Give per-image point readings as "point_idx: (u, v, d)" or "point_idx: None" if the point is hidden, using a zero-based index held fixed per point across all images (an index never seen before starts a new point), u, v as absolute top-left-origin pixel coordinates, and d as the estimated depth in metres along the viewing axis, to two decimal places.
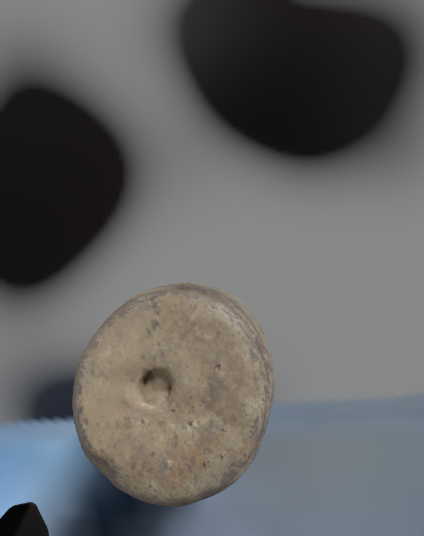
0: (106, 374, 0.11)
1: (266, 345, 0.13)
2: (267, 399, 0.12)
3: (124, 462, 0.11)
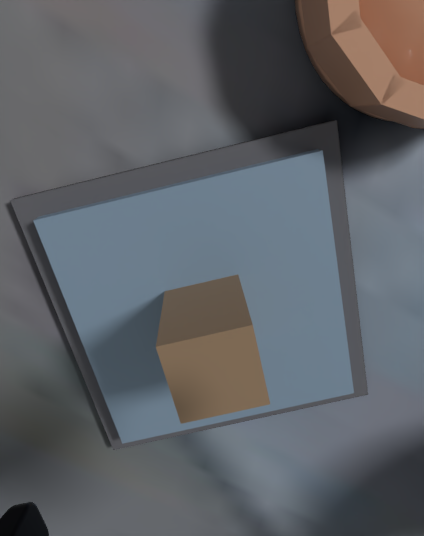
0: None
1: None
2: None
3: None
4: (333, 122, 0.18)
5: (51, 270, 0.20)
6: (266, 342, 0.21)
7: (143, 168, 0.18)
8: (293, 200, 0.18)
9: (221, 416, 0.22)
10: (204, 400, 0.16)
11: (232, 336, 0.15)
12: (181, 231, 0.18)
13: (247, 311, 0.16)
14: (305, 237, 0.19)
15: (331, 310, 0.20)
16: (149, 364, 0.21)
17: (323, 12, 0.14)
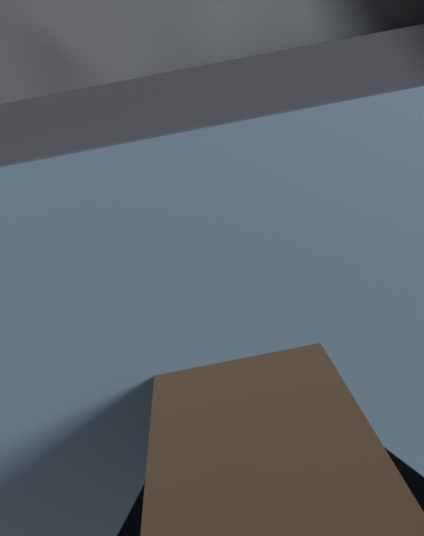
0: None
1: None
2: None
3: None
4: None
5: None
6: None
7: (113, 84, 0.07)
8: None
9: None
10: None
11: None
12: (201, 244, 0.08)
13: (419, 512, 0.05)
14: None
15: None
16: (115, 513, 0.10)
17: None
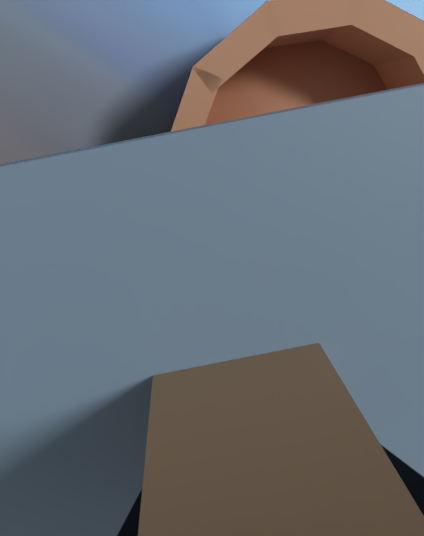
0: None
1: None
2: None
3: None
4: None
5: None
6: None
7: None
8: None
9: None
10: None
11: None
12: (199, 244, 0.08)
13: (416, 511, 0.05)
14: None
15: None
16: (114, 513, 0.10)
17: None
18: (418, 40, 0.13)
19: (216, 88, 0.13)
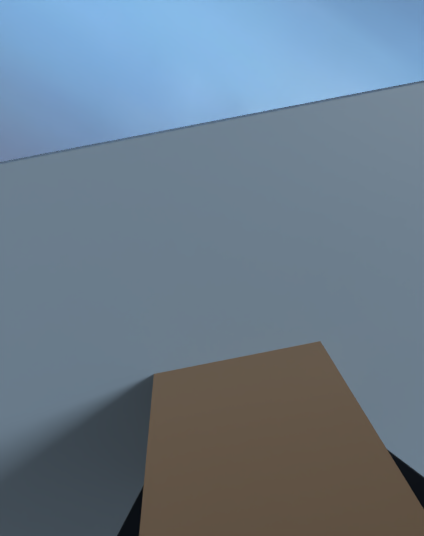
0: None
1: None
2: None
3: None
4: None
5: None
6: None
7: None
8: None
9: None
10: None
11: None
12: (201, 242, 0.08)
13: (419, 510, 0.05)
14: None
15: None
16: (115, 512, 0.10)
17: None
18: None
19: None
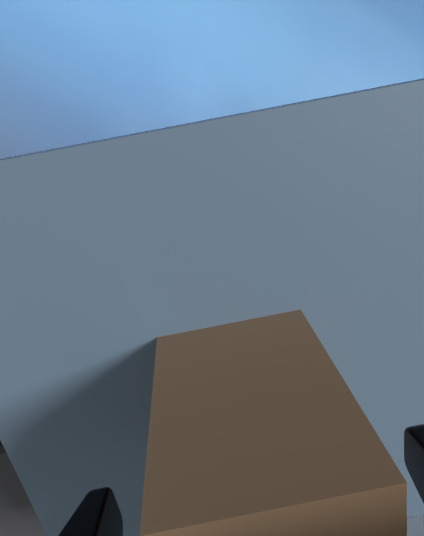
0: None
1: None
2: None
3: None
4: None
5: None
6: None
7: None
8: None
9: None
10: None
11: (348, 509, 0.05)
12: (197, 222, 0.09)
13: (367, 424, 0.06)
14: None
15: None
16: (122, 463, 0.11)
17: None
18: None
19: None
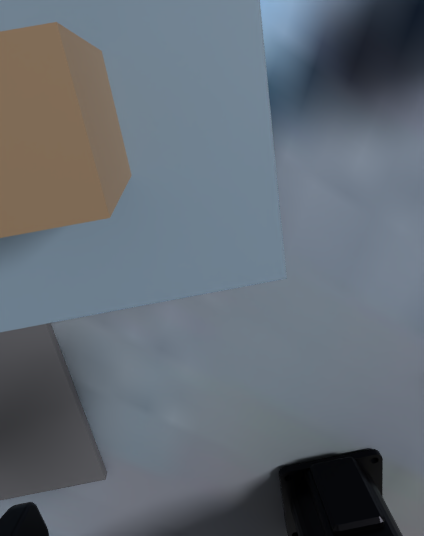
0: None
1: None
2: None
3: None
4: None
5: None
6: (153, 184, 0.13)
7: None
8: None
9: (89, 306, 0.15)
10: None
11: (15, 47, 0.07)
12: None
13: None
14: None
15: (254, 133, 0.13)
16: None
17: None
18: None
19: None
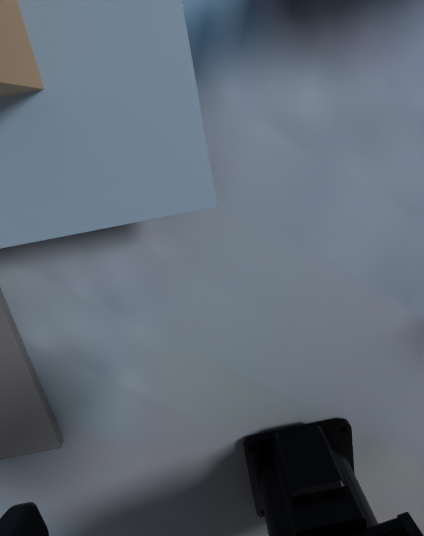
0: None
1: None
2: None
3: None
4: None
5: None
6: (67, 99, 0.13)
7: None
8: None
9: (11, 235, 0.14)
10: None
11: None
12: None
13: None
14: None
15: (170, 43, 0.12)
16: None
17: None
18: None
19: None
